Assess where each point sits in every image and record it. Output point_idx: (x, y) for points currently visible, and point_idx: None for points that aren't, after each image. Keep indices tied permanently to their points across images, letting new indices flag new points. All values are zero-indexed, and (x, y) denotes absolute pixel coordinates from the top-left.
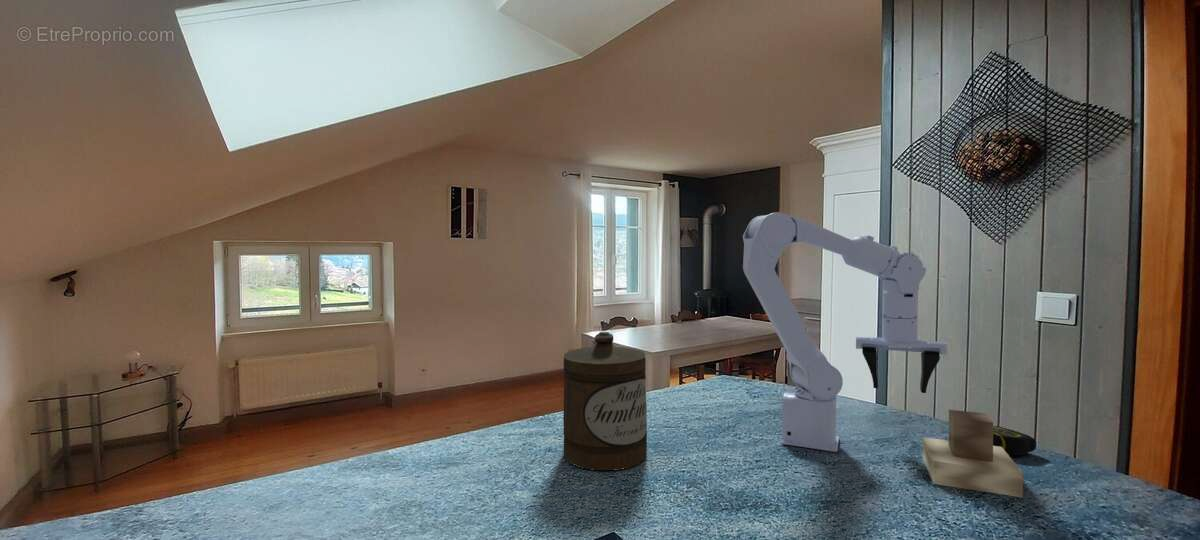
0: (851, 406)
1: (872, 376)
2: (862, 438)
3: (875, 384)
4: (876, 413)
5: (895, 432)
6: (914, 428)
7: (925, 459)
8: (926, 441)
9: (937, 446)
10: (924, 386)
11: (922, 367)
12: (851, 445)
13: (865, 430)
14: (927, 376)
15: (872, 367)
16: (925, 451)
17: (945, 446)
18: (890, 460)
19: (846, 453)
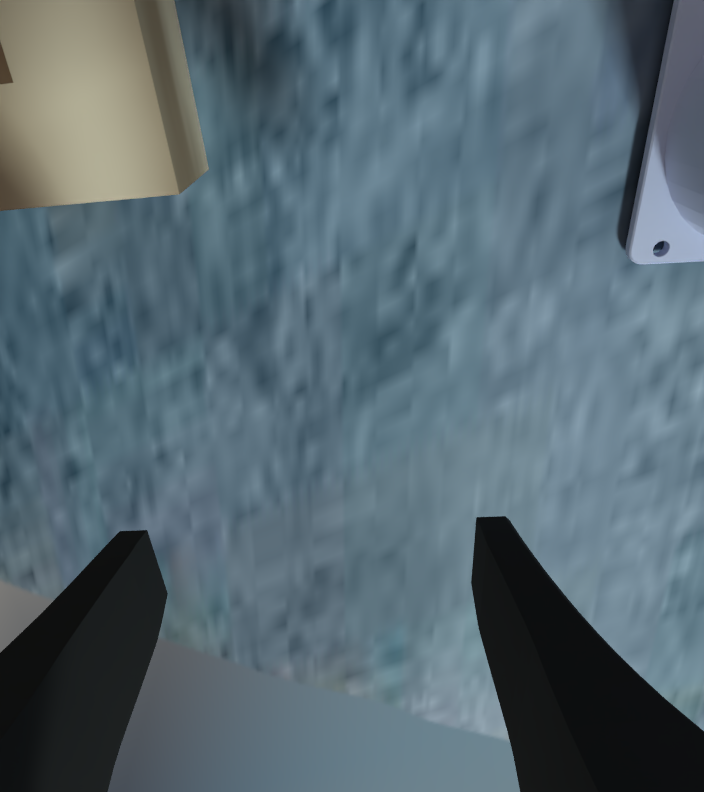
0: None
1: (556, 589)
2: (495, 322)
3: (505, 534)
4: (415, 643)
5: (344, 468)
6: (272, 544)
7: (178, 57)
8: (149, 107)
9: (68, 16)
10: (101, 567)
11: (61, 781)
12: (565, 179)
13: (472, 439)
14: (26, 649)
15: (599, 672)
16: (166, 65)
17: (26, 51)
18: (365, 13)
19: (615, 3)
